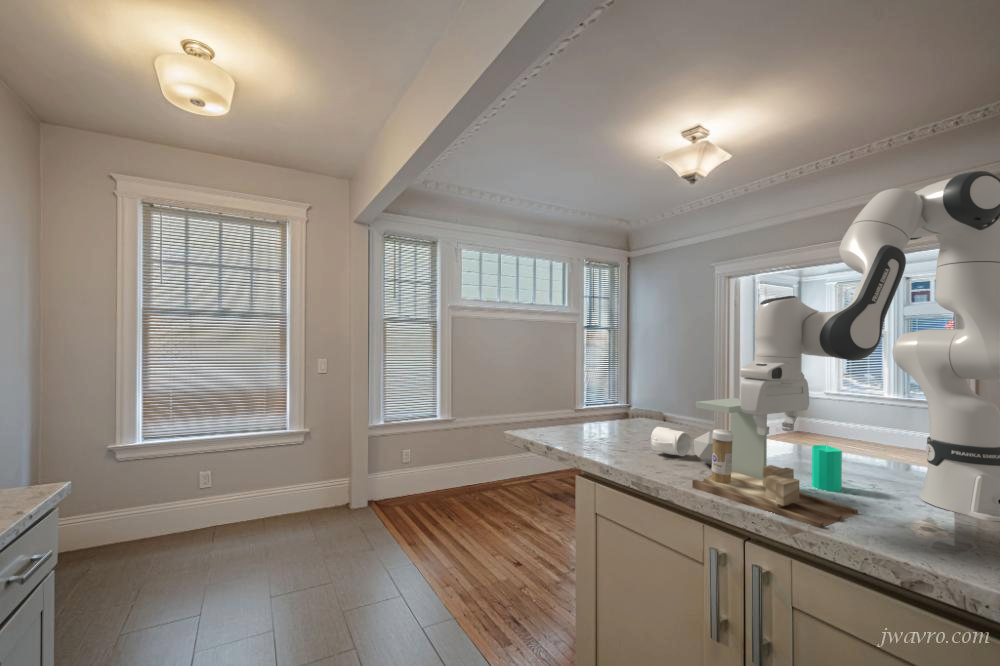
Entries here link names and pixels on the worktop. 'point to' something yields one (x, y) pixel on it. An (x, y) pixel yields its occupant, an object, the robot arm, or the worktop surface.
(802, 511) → the lane board
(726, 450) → the sprinkles bottle
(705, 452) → the die
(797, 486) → the bottle strip
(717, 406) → the shelf
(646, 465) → the worktop surface
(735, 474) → the wooden slider block
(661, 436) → the mug
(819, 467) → the candle
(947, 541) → the worktop surface
